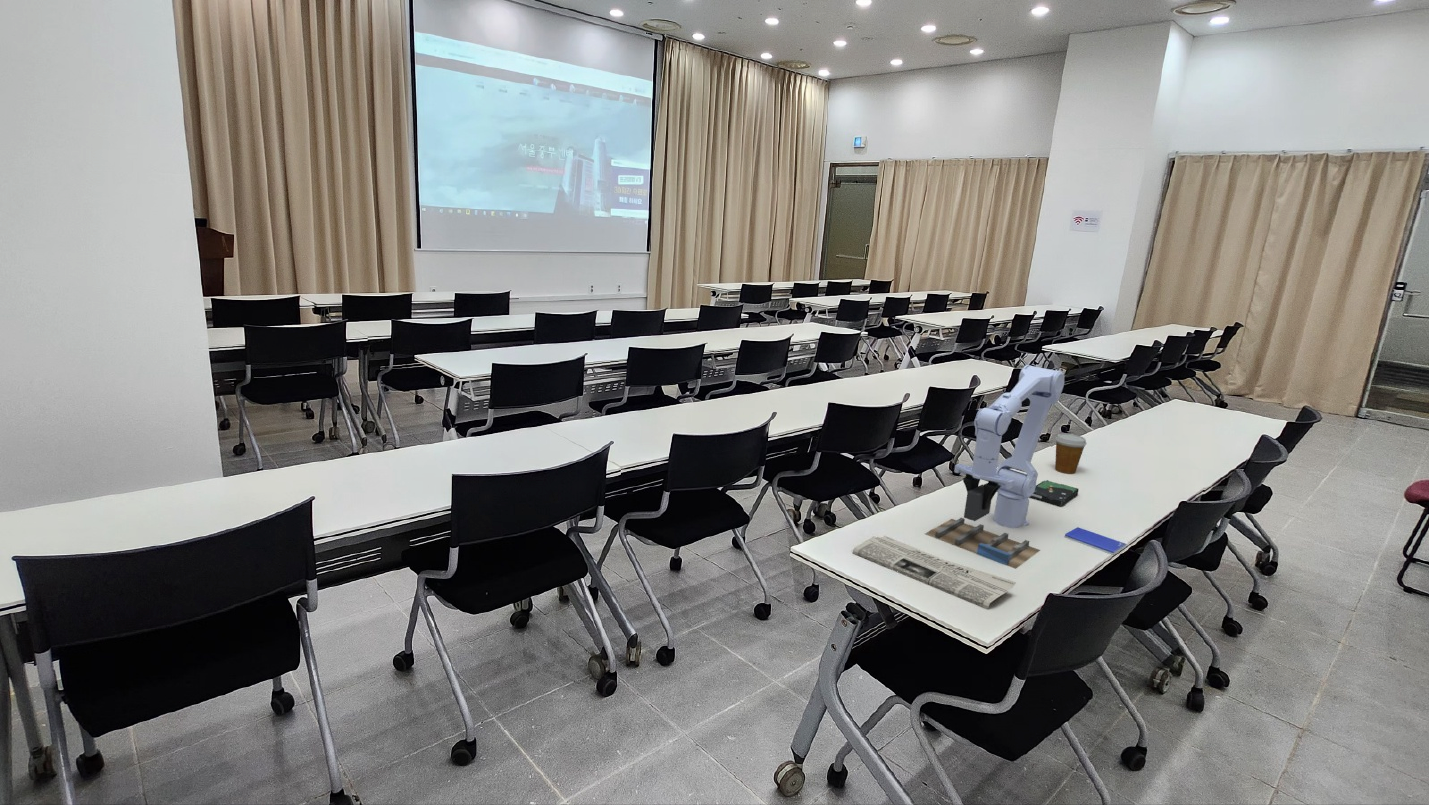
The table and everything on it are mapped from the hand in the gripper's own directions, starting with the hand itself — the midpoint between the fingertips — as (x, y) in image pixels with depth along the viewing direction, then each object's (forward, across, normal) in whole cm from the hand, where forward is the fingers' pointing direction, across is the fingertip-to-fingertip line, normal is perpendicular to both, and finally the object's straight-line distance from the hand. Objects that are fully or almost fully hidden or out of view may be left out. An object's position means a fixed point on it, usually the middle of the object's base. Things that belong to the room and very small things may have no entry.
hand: (978, 506), depth 179 cm
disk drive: (+11, +1, +51) cm, 52 cm away
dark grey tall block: (+2, 0, 0) cm, 3 cm away
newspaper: (+11, +1, -24) cm, 26 cm away
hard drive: (+11, +21, +26) cm, 35 cm away
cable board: (+10, +2, 0) cm, 10 cm away
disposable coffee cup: (+10, -6, +79) cm, 80 cm away
